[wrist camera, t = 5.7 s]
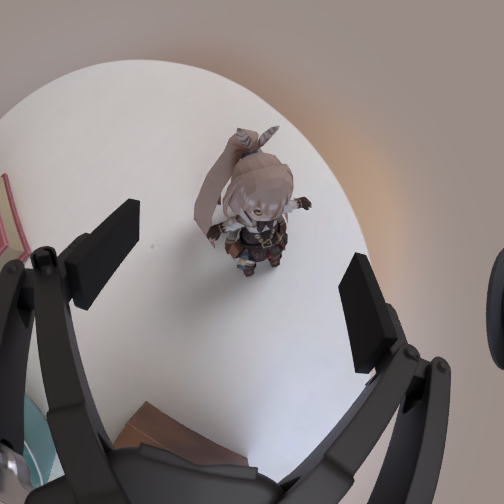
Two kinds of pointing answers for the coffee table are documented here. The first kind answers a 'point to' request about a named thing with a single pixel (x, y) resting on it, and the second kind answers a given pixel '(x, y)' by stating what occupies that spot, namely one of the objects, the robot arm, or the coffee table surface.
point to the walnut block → (174, 438)
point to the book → (10, 227)
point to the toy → (249, 200)
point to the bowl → (37, 444)
